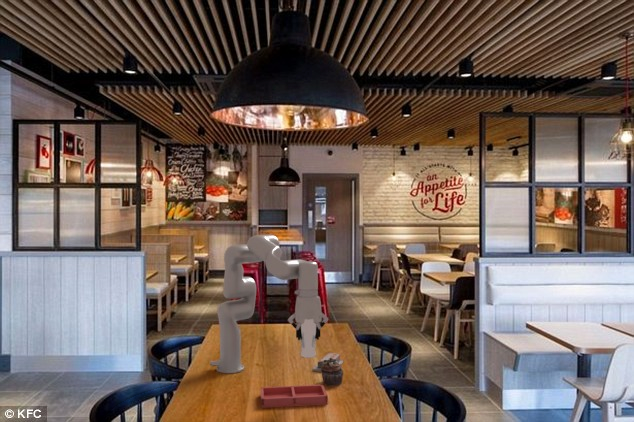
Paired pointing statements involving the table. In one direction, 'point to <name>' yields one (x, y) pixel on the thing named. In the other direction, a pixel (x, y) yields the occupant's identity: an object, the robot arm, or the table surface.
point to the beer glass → (308, 338)
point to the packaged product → (327, 357)
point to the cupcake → (331, 372)
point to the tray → (293, 396)
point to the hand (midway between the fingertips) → (308, 338)
